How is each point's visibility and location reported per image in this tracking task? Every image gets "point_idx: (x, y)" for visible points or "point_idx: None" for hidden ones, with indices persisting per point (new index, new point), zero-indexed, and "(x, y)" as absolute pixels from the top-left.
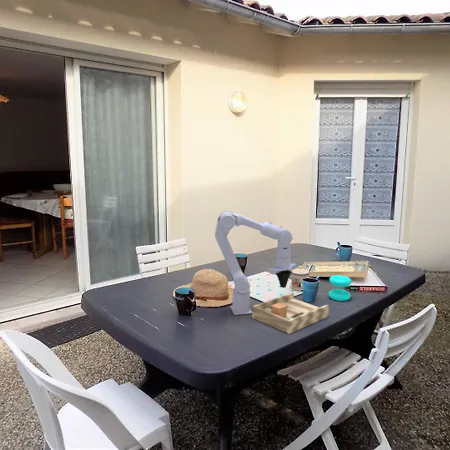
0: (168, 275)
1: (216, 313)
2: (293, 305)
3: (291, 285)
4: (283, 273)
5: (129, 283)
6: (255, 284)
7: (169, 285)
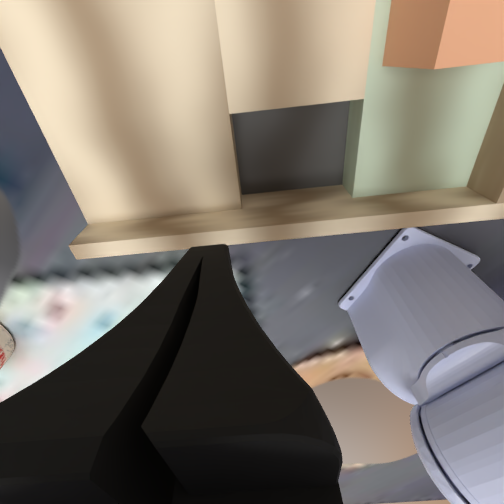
0: None
1: None
2: (164, 121)
3: (4, 361)
4: (277, 473)
5: (430, 496)
6: None
7: (377, 473)
